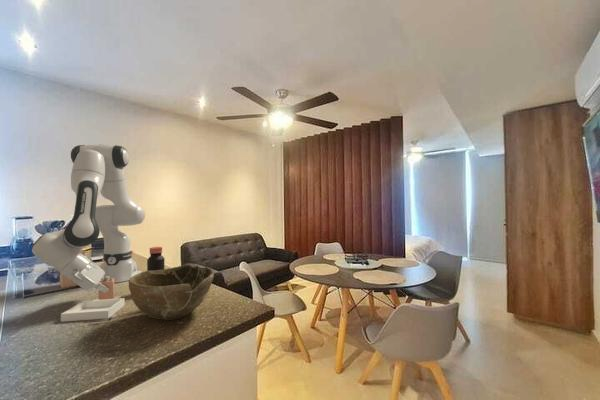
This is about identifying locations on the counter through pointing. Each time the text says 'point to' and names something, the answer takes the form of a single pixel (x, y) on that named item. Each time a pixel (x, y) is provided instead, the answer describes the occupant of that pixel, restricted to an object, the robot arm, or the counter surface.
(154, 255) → the bottle
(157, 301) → the bowl
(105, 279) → the peg stand
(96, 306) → the tray
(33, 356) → the counter surface
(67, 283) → the tan rectangular block
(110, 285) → the sleeve
